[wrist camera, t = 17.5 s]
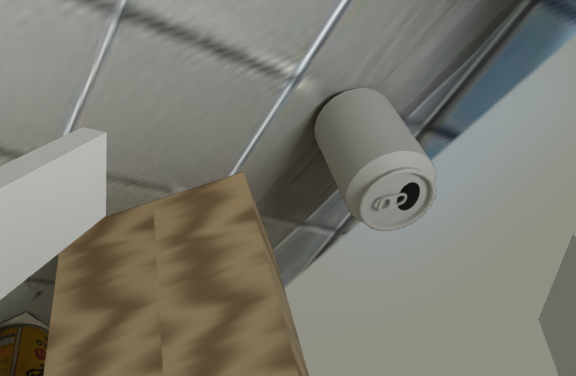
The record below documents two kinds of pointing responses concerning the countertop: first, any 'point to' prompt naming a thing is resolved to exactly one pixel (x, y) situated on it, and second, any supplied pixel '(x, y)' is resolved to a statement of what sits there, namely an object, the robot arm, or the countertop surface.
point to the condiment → (23, 346)
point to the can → (375, 160)
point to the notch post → (174, 292)
